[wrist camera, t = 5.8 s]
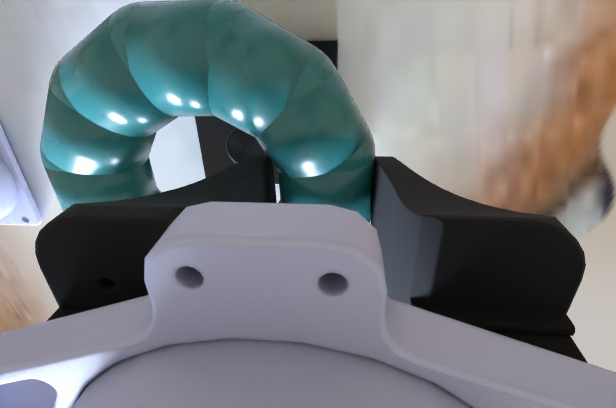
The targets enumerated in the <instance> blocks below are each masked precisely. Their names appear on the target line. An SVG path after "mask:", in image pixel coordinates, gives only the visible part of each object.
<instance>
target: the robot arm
mask: <svg viewBox="0 0 616 408" xmlns="http://www.w3.org/2000/svg"><path fill="white" fill-rule="evenodd" d="M41 222H42V216H41V214H40V212H39V210H38V207H37V205H36V203H35V201H34V198H33V196H32V194H31V192H30V189H29V187H28V185H27V183H26V180H25V178H24V176H23V174H22V172H21V169H20V167H19V165H18V163H17V160H16V158H15V156H14V154H13V151H12V149H11V147H10V145H9V142H8V140H7V138H6V136H5V133H4V131H3V129H2V127H1V124H0V224H7V225H38V224H40V223H41ZM35 254H36V257H37V260H38V263H39V266H40V268H41V270H42V272H43V275H44V277H45V279H46V281H47V283H48V285H49V287H50V289H51V291H52V293H53V295H54V297H55V299H56V301H57V303H58V305H59V308H58V309H57V310H56V312H55V313H54V314H53V315H52V316H51V317H50V318H49V319H48V320H47V321H46V322H42V323H38V324H34V325H30V326H26V327H22V328H19V329H15V330H11V331H7V332H3V333H0V408H616V372H613V371H610V370H607V369H604V368H601V367H598V366H595V365H591V364H589V363H587V361H586V360H585V358H584V357H583V355H582V353H581V352H580V350H579V349H578V347H577V346H576V344H575V343H574V341H573V340H572V338H571V337H570V335H571V336H573V335H574V333H575V327H574V325H573V323H572V322H571V320H570V319H569V317H568V316H567V315H566V314H567V312H568V309H569V307H570V305H571V303H572V301H573V298H574V296H575V294H576V292H577V290H578V287H579V285H580V283H581V281H582V278H583V274H584V270H585V266H586V264H585V255H584V251H583V250H582V248H581V246H580V244H579V242H578V241H577V240H576V238H575V237H574V236H573V235H572V234H571V233H570V232H569V231H568V230H567V229H566V228H565V227H564V226H563V225H562V224H561V222H560V221H559V220H558V219H557V218H556V217H551V216H544V215H536V214H529V213H521V212H515V211H510V210H506V209H501V208H496V207H492V206H488V205H485V204H481V203H478V202H475V201H472V200H469V199H466V198H463V197H460V196H458V195H455V194H453V193H451V192H449V191H446V190H444V189H442V188H440V187H438V186H436V185H434V184H433V183H431V182H429V181H427V180H426V179H424V178H423V177H421V176H419V175H418V174H417V173H415V172H414V171H412V170H411V169H409V168H408V167H407V166H405V165H404V164H403V163H401V162H400V161H399V160H397V159H396V158H394V157H378V156H375V166H374V181H373V195H372V210H371V224H370V223H369V222H368V221H367V220H366V219H365V218H364V217H362V216H361V215H360V214H359V213H358V212H356V211H352V210H348V209H345V208H341V207H337V206H333V205H325V204H287V203H276V191H275V177H274V164H273V163H272V161H271V160H270V158H269V157H268V155H253V156H250V157H248V158H246V159H244V160H242V161H240V162H238V163H236V164H234V165H232V166H230V167H228V168H227V169H225V170H223V171H220V172H218V173H216V174H214V175H212V176H210V177H208V178H205V179H203V180H201V181H198V182H195V183H193V184H190V185H187V186H184V187H181V188H178V189H174V190H170V191H166V192H162V193H158V194H154V195H149V196H144V197H138V198H131V199H124V200H116V201H106V202H93V203H76V204H73V205H71V206H70V207H69V208H67V209H66V210H65V211H63V212H62V213H61V214H59V215H58V216H57V217H55V218H54V219H53V220H51V221H50V222H49V223H48V224H46V225H45V226H44V227H43V228H42V229H41V230H40V231H39V234H38V236H37V239H36V241H35Z"/></svg>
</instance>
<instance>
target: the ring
mask: <svg viewBox="0 0 616 408" xmlns="http://www.w3.org/2000/svg"><path fill="white" fill-rule="evenodd" d="M178 116H216V117H218V118H220V119H222V120H223V121H225V122H227V123H229V124H231V125H233V126H235V127H237V128H238V129H240V130H242V131H244V132H246V133H248V134H250V135H252V136H253V137H255V138H256V140H257V141H258V142H259V144H260V145H261V147H262V148H263V150H264V151H265V152H266V154H267V155H268V157H269V158H270V160H271V161H272V163H273V164H274V165H275V167H276V168H277V170H278V175H279V187H280V201H279V203H287V204H325V205H333V206H337V207H341V208H345V209H348V210H352V211H356V212H358V213H359V214H360V215H361V216H362V217H364V218H365V219H366V220H367V221H368V222H369V223H370V220H371V210H372V195H373V181H374V166H375V144H374V140H373V136H372V134H371V132H370V130H369V127H368V126H367V124H366V122H365V120H364V118H363V116H362V115H361V113H360V111H359V109H358V107H357V106H356V104H355V102H354V100H353V98H352V96H351V95H350V93H349V91H348V89H347V87H346V85H345V84H344V82H343V80H342V78H341V76H340V75H339V73H338V71H337V69H336V67H335V66H334V65H333V63H332V61H331V60H330V59H329V58H328V57H327V56H326V55H325V53H323V52H322V51H321V50H319V49H318V48H317V47H315V46H314V45H312V44H310V43H309V42H307V41H305V40H304V39H302V38H300V37H299V36H297V35H295V34H293V33H292V32H290V31H288V30H287V29H285V28H283V27H282V26H280V25H278V24H277V23H275V22H273V21H272V20H270V19H268V18H267V17H265V16H263V15H262V14H260V13H258V12H257V11H255V10H253V9H252V8H250V7H248V6H246V5H244V4H242V3H239V2H236V1H232V0H171V1H144V2H136V3H132V4H129V5H126V6H123V7H121V8H119V9H118V10H117V11H115V12H114V13H112V14H111V15H110V16H109V17H108V18H107V19H106V20H104V21H103V22H102V23H101V24H100V25H99V26H98V27H97V28H95V29H94V30H93V31H92V32H91V33H90V34H89V35H87V36H86V37H85V38H84V39H83V40H82V41H81V42H80V43H78V44H77V45H76V46H75V47H74V48H73V49H72V50H70V51H69V52H68V53H67V54H66V55H65V56H64V57H63V58H62V59H61V60H60V61H59V62H58V63H57V65H56V66H55V68H54V70H53V73H52V76H51V78H50V82H49V89H48V96H47V102H46V109H45V116H44V122H43V129H42V136H41V143H40V152H41V158H42V162H43V165H44V167H45V170H46V172H47V174H48V177H49V179H50V182H51V184H52V186H53V189H54V191H55V193H56V196H57V198H58V201H59V203H60V205H61V208H62V210H63V211H65V210H66V209H67V208H69V207H70V206H71V205H73V204H76V203H93V202H106V201H116V200H124V199H131V198H138V197H144V196H149V195H154V194H158V193H162V192H161V191H160V190H159V189H158V188H157V186H156V182H155V178H154V175H153V171H152V167H151V163H150V160H149V153H150V150H151V147H152V144H153V141H154V138H155V135H156V132H157V131H158V130H159V129H161V128H162V127H164V126H165V125H167V124H168V123H170V122H171V121H173V120H174V119H176V118H177V117H178Z"/></svg>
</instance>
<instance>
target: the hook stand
mask: <svg viewBox="0 0 616 408" xmlns="http://www.w3.org/2000/svg"><path fill="white" fill-rule="evenodd" d="M304 40H305V41H307V42H309V43H310V44H312V45H314V46H315V47H317V48H318V49H319V50H321V51H322V52H323V53H325V55H326V56H327V57H328V58H329V59H330V60H331V61H332V63H333V65H334V66H335V67H336V69H337V71H338V38H326V39H304ZM195 119H196V125H197V131H198V137H199V142H200V148H201V154H202V159H203V165H204V171H205V176H206V178H208V177H210V176H212V175H214V174H216V173H218V172H220V171H223V170H225V169H227V168H228V167H230V166H232V165H234V164H236V163H238V162H240V161H242V160H244V159H246V158H248V157H250V156H253V155H267V154H266V152H265V151H264V150H263V148H262V147H261V145H260V144H259V142H258V141H257V140H256V138H255V137H253V136H252V135H250V134H248V133H246V132H244V131H242V130H240V129H238V128H237V127H235V126H233V125H231V124H229V123H227V122H225V121H223V120H222V119H220V118H218V117H216V116H195ZM274 177H275V184H279V175H278V170H277V168H276V167H275V165H274Z"/></svg>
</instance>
